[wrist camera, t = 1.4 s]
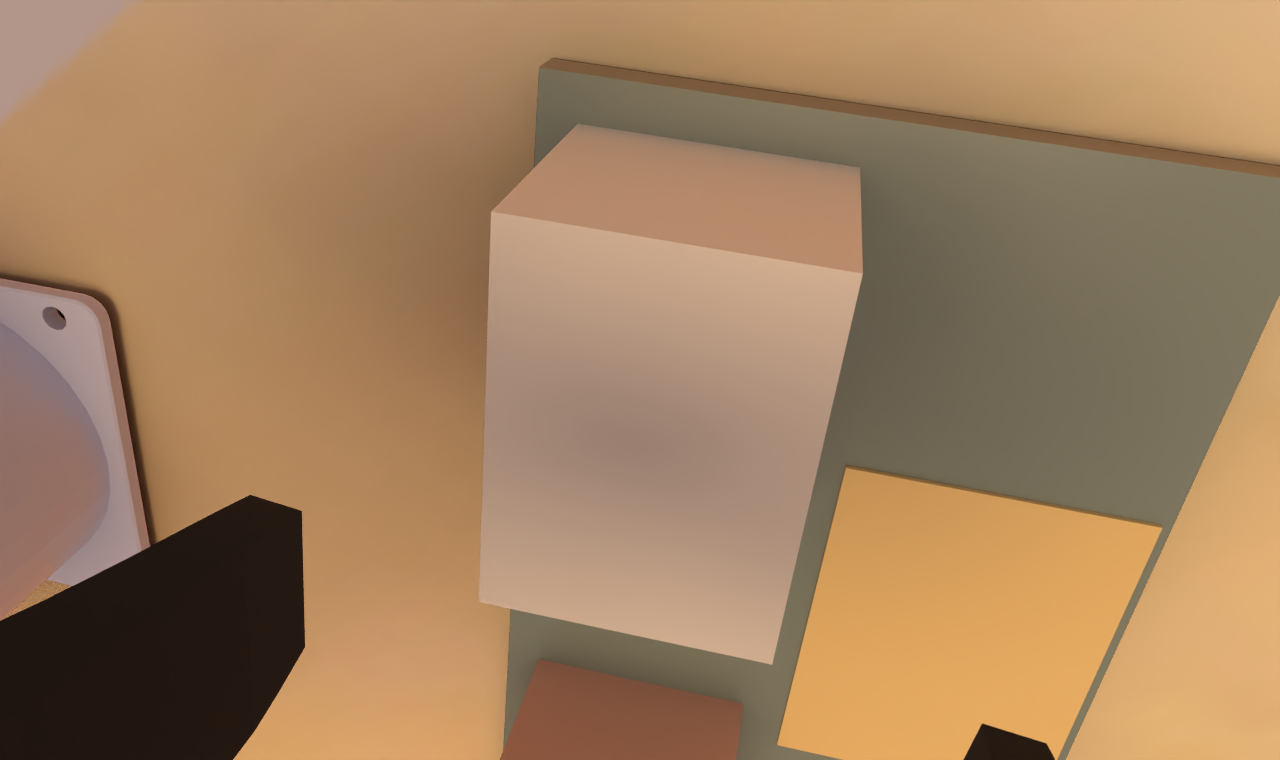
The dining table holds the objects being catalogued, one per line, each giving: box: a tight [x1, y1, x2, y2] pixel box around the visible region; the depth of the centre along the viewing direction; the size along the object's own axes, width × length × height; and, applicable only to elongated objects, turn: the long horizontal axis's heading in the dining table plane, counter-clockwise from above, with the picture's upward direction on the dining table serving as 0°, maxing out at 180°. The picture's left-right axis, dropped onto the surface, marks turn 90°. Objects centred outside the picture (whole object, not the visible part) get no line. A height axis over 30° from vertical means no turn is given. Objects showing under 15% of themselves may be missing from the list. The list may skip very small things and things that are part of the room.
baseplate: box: [503, 58, 1280, 760], centre depth 20 cm, size 12×20×1 cm, turn 174°
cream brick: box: [479, 124, 863, 665], centre depth 16 cm, size 5×6×4 cm
